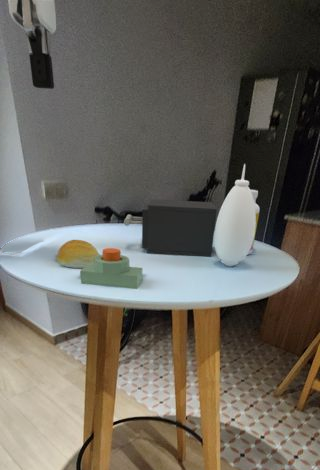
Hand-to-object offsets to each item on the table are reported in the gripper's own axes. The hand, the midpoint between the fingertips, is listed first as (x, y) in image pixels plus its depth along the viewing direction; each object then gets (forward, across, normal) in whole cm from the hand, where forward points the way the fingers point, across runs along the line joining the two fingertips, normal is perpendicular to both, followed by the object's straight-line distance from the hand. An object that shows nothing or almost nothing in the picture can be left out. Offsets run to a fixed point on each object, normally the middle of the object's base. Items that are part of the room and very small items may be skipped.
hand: (43, 87), depth 62 cm
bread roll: (+27, +6, +5) cm, 28 cm away
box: (+27, +17, +13) cm, 34 cm away
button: (+24, +17, +13) cm, 32 cm away
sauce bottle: (+27, +1, +36) cm, 45 cm away
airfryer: (+27, -10, +25) cm, 38 cm away
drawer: (+26, -10, +22) cm, 35 cm away
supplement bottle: (+27, -10, +40) cm, 49 cm away
